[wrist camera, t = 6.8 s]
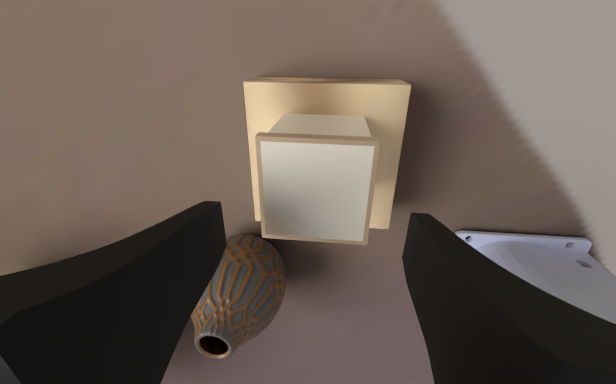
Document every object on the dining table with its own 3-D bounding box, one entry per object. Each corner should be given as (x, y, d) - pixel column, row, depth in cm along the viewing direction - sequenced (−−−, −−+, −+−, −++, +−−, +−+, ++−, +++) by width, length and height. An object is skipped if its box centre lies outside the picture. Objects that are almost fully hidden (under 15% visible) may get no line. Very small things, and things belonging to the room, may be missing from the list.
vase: (213, 214, 24) (151, 296, 16) (296, 228, 24) (273, 318, 16) (214, 277, 27) (162, 371, 19) (287, 290, 27) (265, 390, 19)
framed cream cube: (368, 112, 16) (380, 141, 11) (359, 192, 18) (366, 245, 13) (280, 109, 16) (254, 136, 11) (282, 187, 19) (261, 237, 14)
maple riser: (400, 79, 18) (411, 84, 15) (382, 206, 22) (388, 228, 19) (257, 76, 19) (243, 81, 16) (265, 200, 23) (255, 220, 20)
